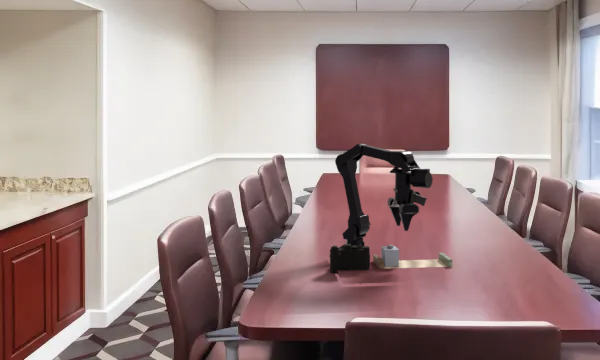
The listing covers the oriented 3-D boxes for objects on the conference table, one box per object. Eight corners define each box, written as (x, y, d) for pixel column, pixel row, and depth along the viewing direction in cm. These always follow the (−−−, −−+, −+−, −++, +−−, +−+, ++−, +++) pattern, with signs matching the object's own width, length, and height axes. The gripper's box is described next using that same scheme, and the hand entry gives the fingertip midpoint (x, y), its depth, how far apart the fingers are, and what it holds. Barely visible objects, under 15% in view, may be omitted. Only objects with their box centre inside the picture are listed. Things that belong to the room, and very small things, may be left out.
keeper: (384, 266, 195) (385, 247, 195) (381, 262, 201) (381, 243, 200) (398, 266, 196) (399, 246, 195) (394, 262, 201) (395, 243, 200)
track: (379, 271, 193) (379, 261, 193) (373, 263, 203) (373, 254, 203) (452, 269, 195) (452, 259, 195) (442, 261, 205) (442, 252, 205)
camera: (366, 265, 202) (366, 238, 200) (371, 273, 191) (371, 245, 190) (328, 266, 201) (327, 238, 200) (330, 274, 191) (330, 245, 189)
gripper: (433, 188, 194) (432, 232, 196) (415, 182, 212) (415, 222, 214) (402, 189, 192) (402, 233, 194) (387, 183, 211) (386, 223, 213)
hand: (402, 228), depth 204 cm, fingers open, 9 cm apart
